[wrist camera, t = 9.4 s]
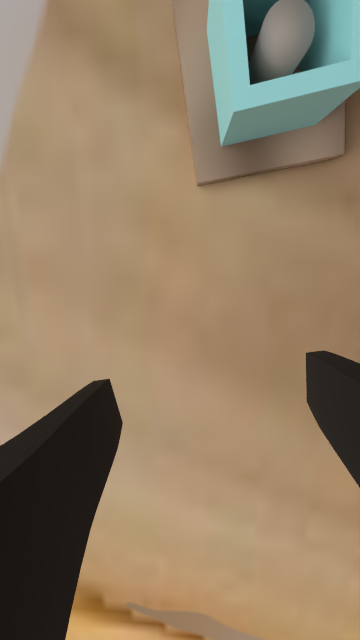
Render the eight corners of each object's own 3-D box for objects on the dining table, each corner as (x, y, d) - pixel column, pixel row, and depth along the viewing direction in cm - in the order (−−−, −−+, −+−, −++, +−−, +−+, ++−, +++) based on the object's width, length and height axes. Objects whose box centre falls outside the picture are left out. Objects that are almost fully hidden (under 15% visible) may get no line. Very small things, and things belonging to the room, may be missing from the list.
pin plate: (337, -30, 13) (411, -162, 8) (334, 158, 15) (390, 130, 11) (173, 14, 13) (165, -87, 9) (197, 185, 16) (199, 170, 12)
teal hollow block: (313, -1, 12) (377, -123, 8) (315, 124, 14) (371, 78, 10) (206, 29, 13) (214, -71, 8) (221, 146, 14) (233, 112, 10)
